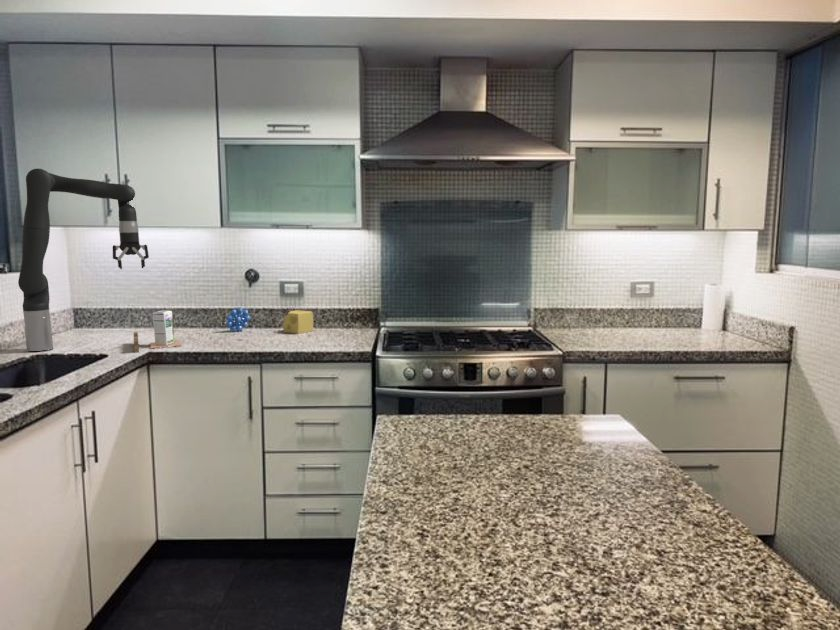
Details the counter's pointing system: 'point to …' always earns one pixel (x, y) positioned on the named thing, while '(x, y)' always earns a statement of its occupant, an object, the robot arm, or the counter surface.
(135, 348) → the walnut wall
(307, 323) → the cheese
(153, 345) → the terracotta tile
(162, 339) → the syrup box
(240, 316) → the grapes
